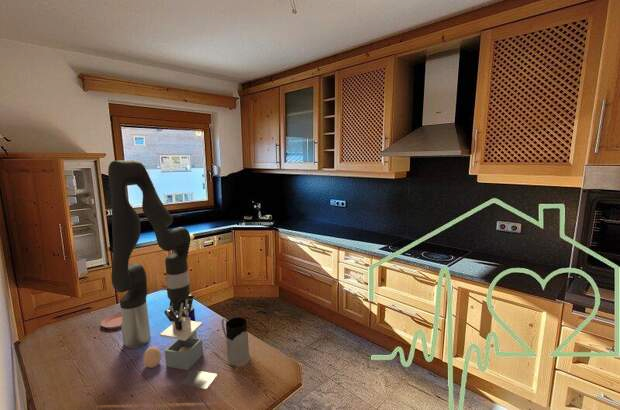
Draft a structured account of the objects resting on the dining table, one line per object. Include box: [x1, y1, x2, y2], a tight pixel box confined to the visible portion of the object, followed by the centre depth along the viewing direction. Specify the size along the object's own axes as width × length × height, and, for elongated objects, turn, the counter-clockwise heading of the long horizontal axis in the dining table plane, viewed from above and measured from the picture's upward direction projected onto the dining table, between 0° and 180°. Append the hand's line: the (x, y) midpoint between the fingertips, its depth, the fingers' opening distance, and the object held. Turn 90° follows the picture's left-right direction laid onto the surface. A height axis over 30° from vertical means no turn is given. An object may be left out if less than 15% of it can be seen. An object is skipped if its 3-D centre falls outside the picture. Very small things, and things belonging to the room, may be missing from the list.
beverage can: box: [187, 305, 198, 338], centre depth 125 cm, size 6×6×15 cm
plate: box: [100, 311, 122, 330], centre depth 143 cm, size 14×14×2 cm
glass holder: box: [221, 316, 251, 368], centre depth 116 cm, size 9×14×15 cm, turn 48°
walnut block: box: [179, 347, 192, 353], centre depth 114 cm, size 4×4×4 cm
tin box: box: [164, 337, 204, 371], centre depth 114 cm, size 9×9×7 cm
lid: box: [159, 315, 203, 340], centre depth 112 cm, size 10×10×5 cm
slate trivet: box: [179, 369, 219, 390], centre depth 105 cm, size 10×7×1 cm
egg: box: [142, 346, 162, 369], centre depth 112 cm, size 6×6×8 cm
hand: (181, 327), depth 112 cm, fingers closed on lid, 2 cm apart
